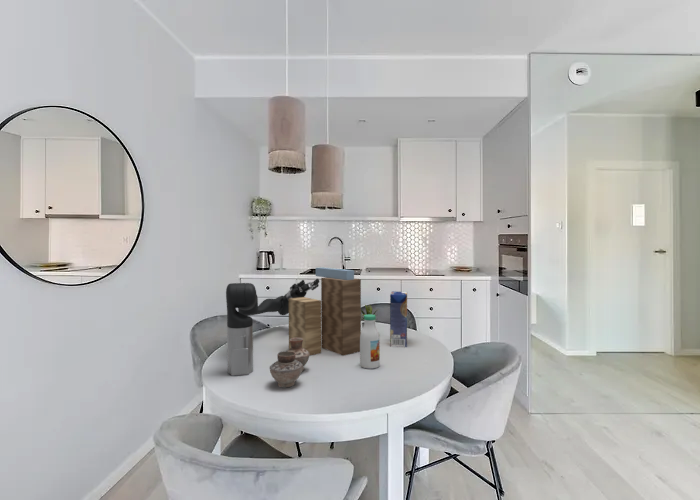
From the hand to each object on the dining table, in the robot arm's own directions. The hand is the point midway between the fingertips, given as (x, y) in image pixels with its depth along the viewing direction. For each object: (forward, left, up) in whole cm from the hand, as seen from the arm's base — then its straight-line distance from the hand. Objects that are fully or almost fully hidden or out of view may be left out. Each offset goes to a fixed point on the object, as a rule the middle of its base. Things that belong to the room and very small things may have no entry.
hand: (311, 281), depth 193 cm
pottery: (-51, +15, -29) cm, 61 cm away
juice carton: (-18, -39, -29) cm, 52 cm away
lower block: (-20, +6, -29) cm, 36 cm away
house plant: (+2, -29, -29) cm, 41 cm away
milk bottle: (-46, -16, -29) cm, 57 cm away
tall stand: (-21, -10, -29) cm, 37 cm away
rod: (-17, -8, +3) cm, 19 cm away
